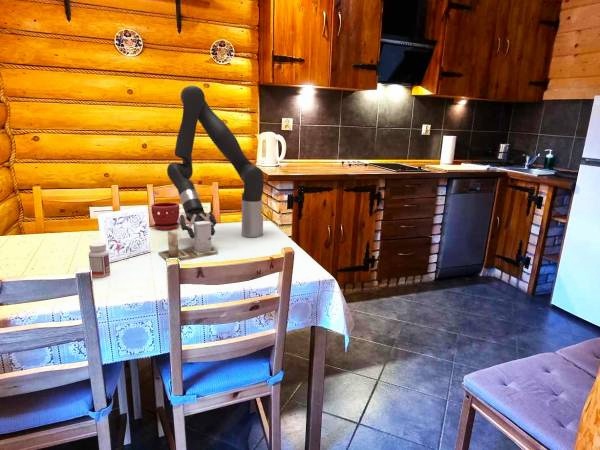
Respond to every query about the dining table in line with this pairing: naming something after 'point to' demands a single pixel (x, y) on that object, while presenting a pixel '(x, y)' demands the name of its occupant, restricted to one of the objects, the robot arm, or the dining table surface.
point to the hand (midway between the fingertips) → (203, 236)
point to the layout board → (188, 253)
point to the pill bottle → (99, 259)
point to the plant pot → (165, 215)
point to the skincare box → (202, 236)
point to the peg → (173, 243)
